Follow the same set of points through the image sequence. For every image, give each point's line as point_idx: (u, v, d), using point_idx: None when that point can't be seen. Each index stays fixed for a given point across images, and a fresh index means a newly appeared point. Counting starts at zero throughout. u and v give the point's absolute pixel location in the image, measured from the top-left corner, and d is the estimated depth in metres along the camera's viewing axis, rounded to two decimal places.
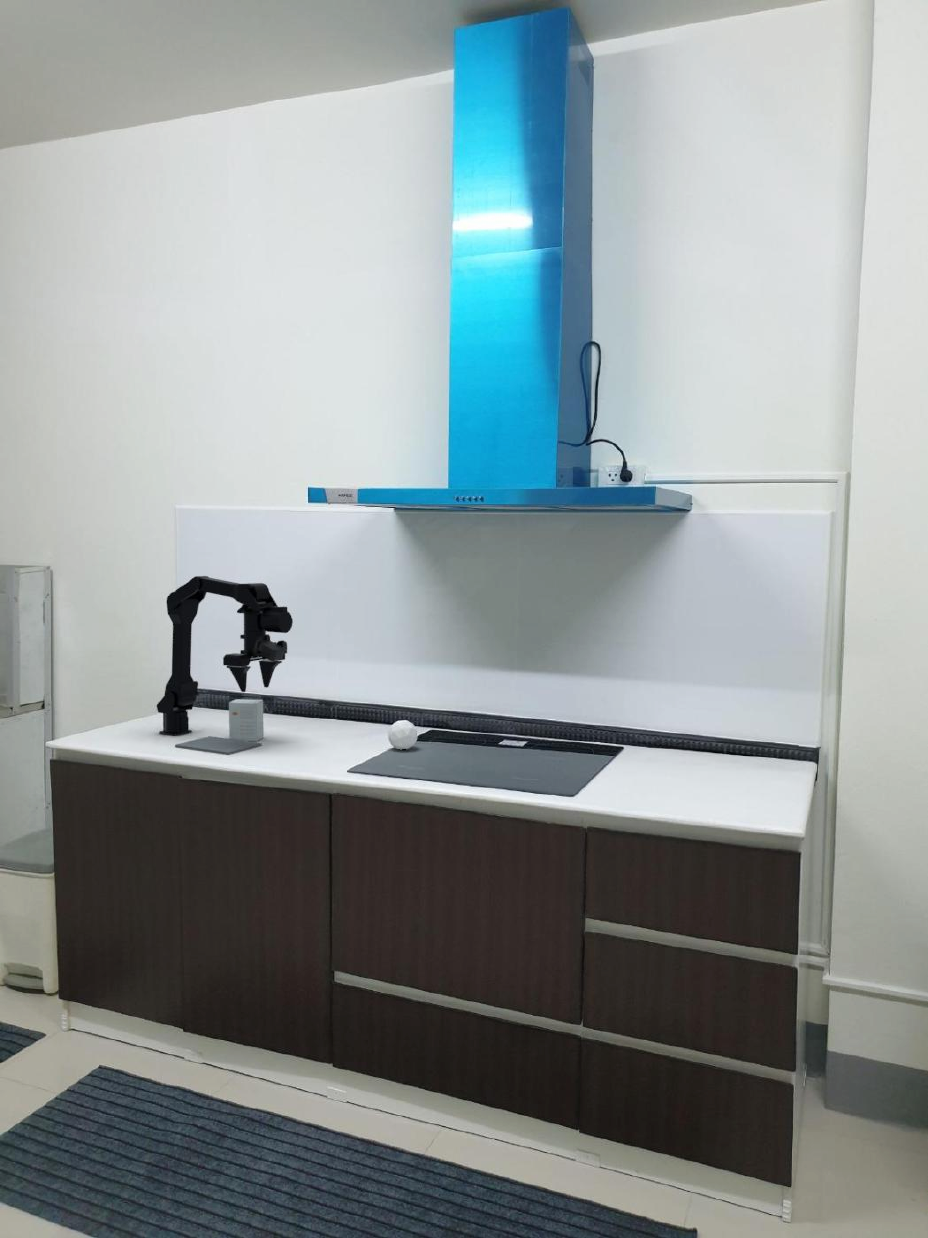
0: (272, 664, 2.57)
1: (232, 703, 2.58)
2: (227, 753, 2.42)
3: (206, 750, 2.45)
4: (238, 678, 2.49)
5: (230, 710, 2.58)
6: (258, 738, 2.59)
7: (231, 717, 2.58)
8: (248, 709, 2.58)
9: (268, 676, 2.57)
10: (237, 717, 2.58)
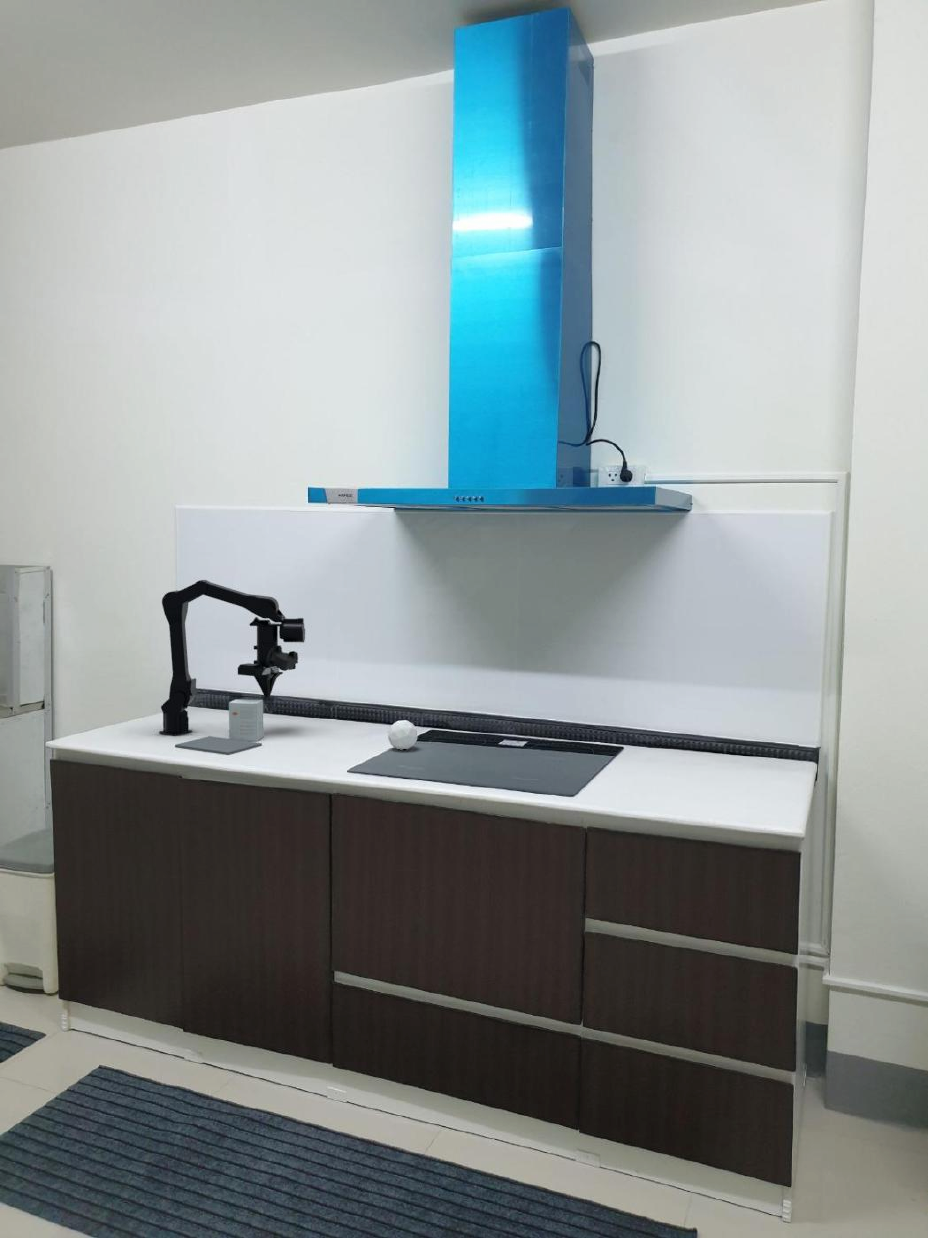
0: (273, 675, 2.68)
1: (232, 703, 2.58)
2: (227, 753, 2.42)
3: (206, 750, 2.45)
4: (262, 685, 2.67)
5: (230, 710, 2.58)
6: (258, 738, 2.59)
7: (231, 717, 2.58)
8: (248, 709, 2.58)
9: None
10: (237, 717, 2.58)
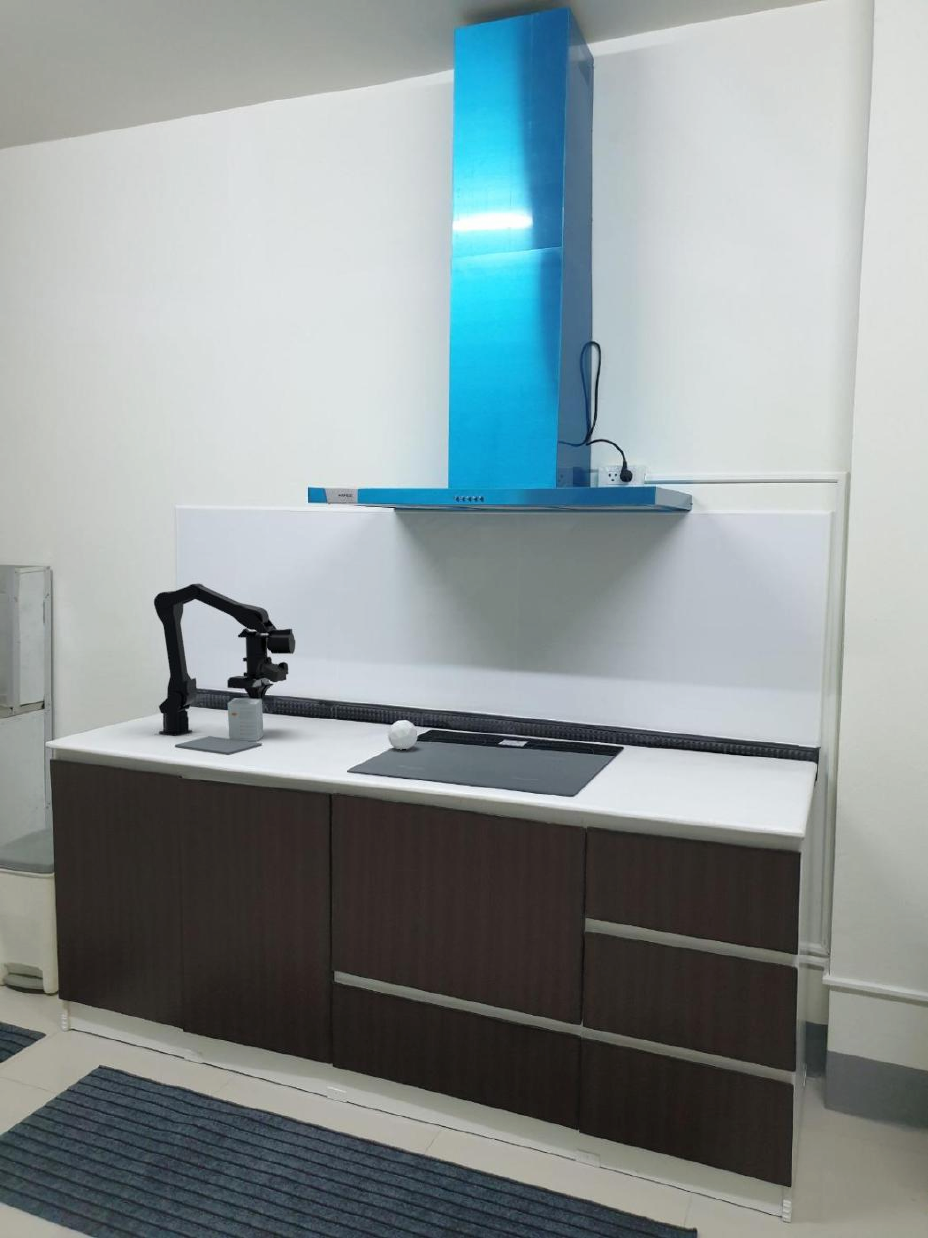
0: (264, 687, 2.64)
1: (231, 704, 2.57)
2: (227, 753, 2.42)
3: (206, 750, 2.45)
4: (253, 697, 2.63)
5: (229, 711, 2.57)
6: (258, 738, 2.59)
7: (230, 717, 2.58)
8: (247, 710, 2.57)
9: None
10: (236, 718, 2.57)
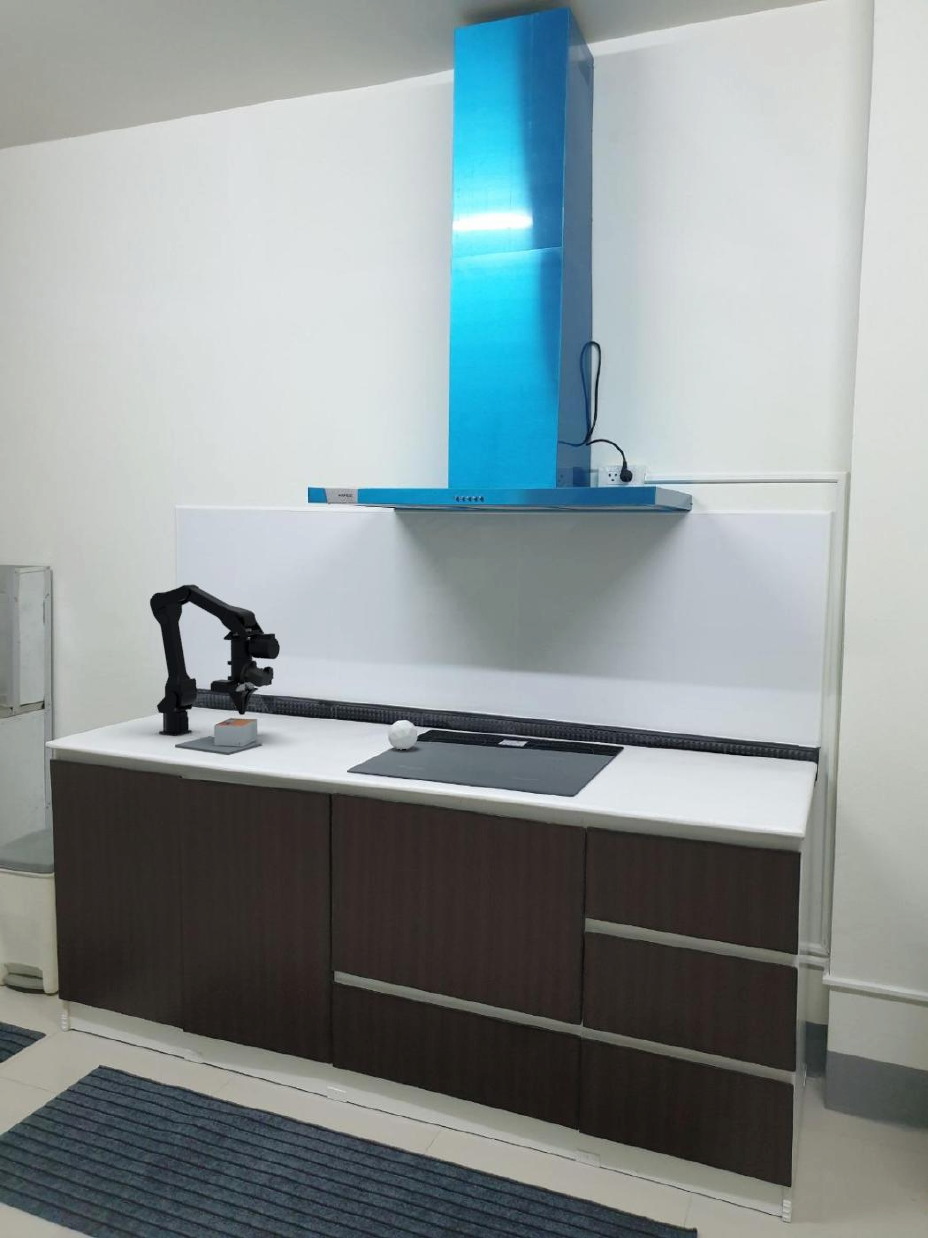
0: (248, 691, 2.58)
1: (218, 745, 2.49)
2: (227, 753, 2.42)
3: (206, 750, 2.45)
4: (236, 701, 2.58)
5: None
6: (256, 736, 2.57)
7: None
8: None
9: None
10: None
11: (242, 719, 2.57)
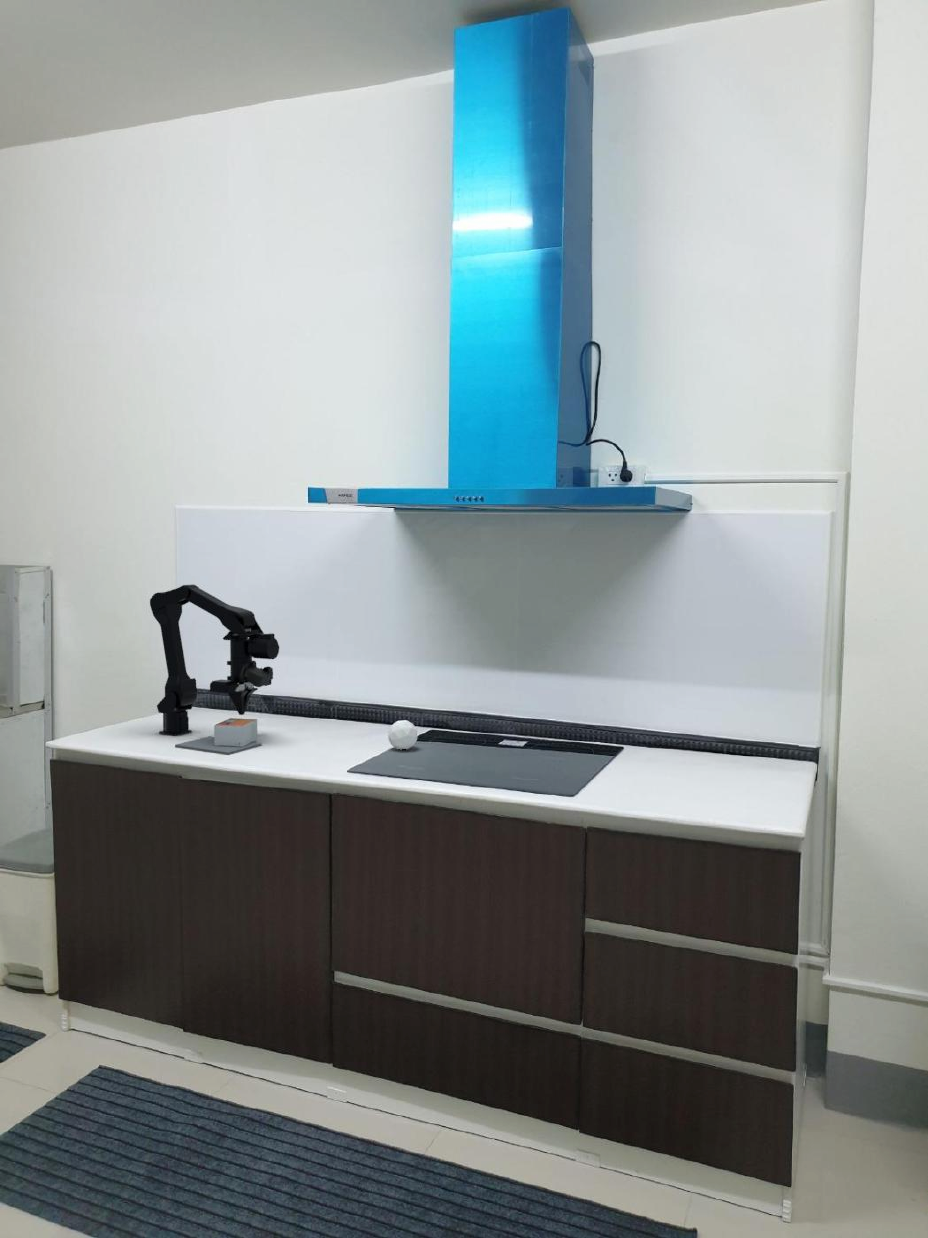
0: (248, 691, 2.58)
1: (218, 745, 2.49)
2: (227, 753, 2.42)
3: (206, 750, 2.45)
4: (236, 701, 2.58)
5: None
6: (256, 736, 2.57)
7: None
8: None
9: (244, 703, 2.58)
10: None
11: (242, 719, 2.57)
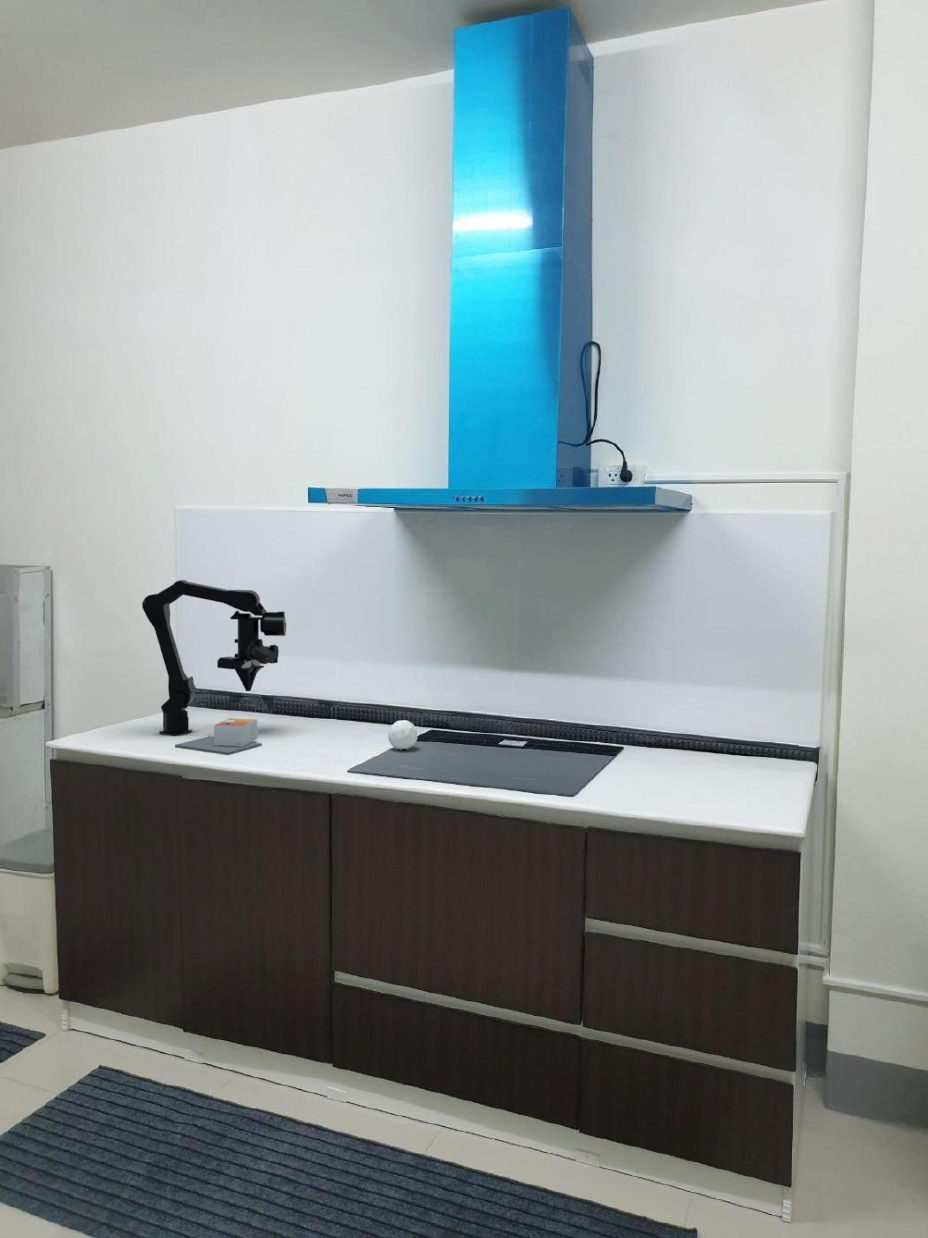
0: (254, 669, 2.67)
1: (218, 745, 2.49)
2: (227, 753, 2.42)
3: (206, 750, 2.45)
4: (243, 678, 2.67)
5: None
6: (256, 736, 2.57)
7: None
8: None
9: None
10: None
11: (242, 719, 2.57)
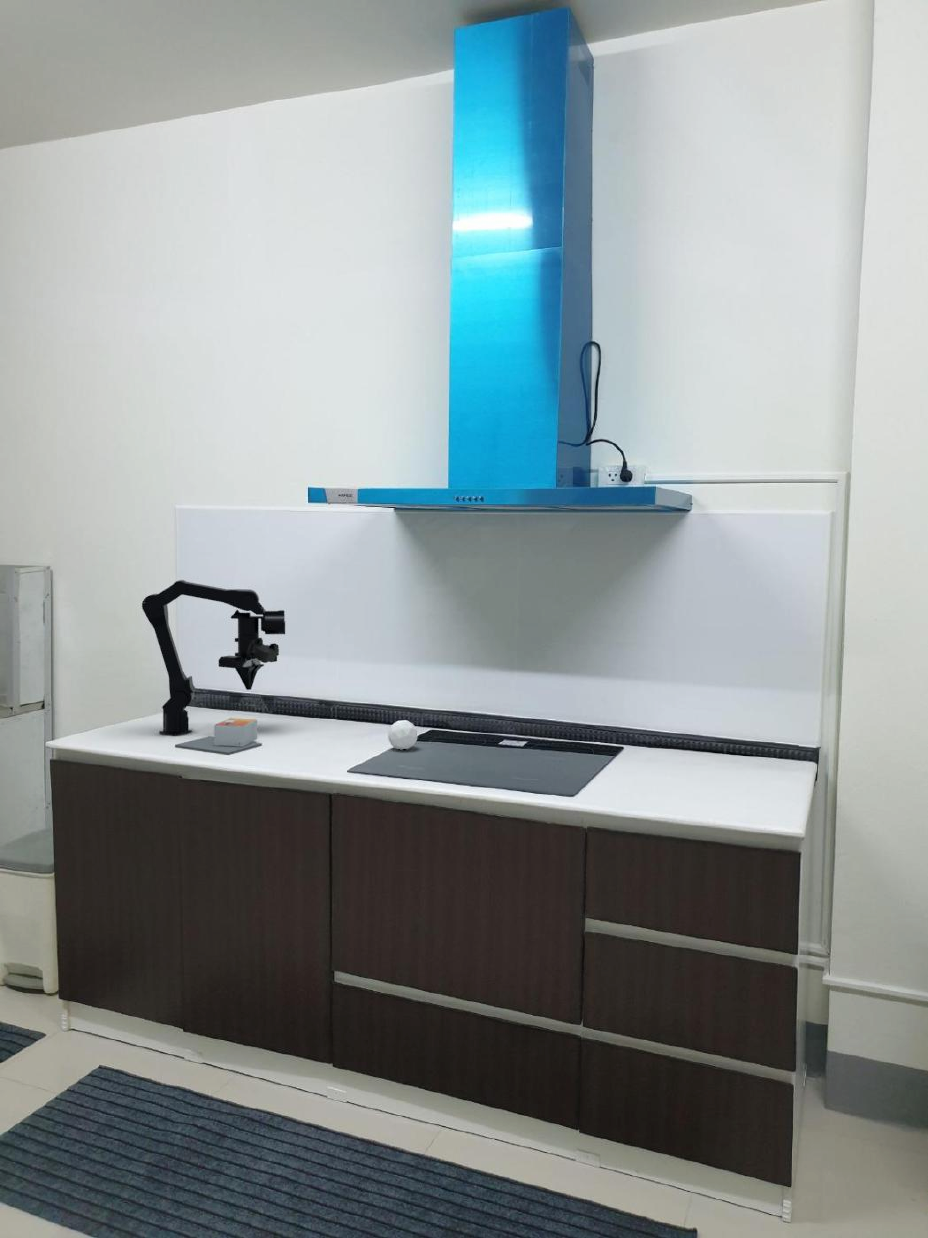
0: (254, 667, 2.69)
1: (218, 745, 2.49)
2: (227, 753, 2.42)
3: (206, 750, 2.45)
4: (243, 677, 2.69)
5: None
6: (256, 736, 2.57)
7: None
8: None
9: (251, 679, 2.70)
10: None
11: (242, 719, 2.57)
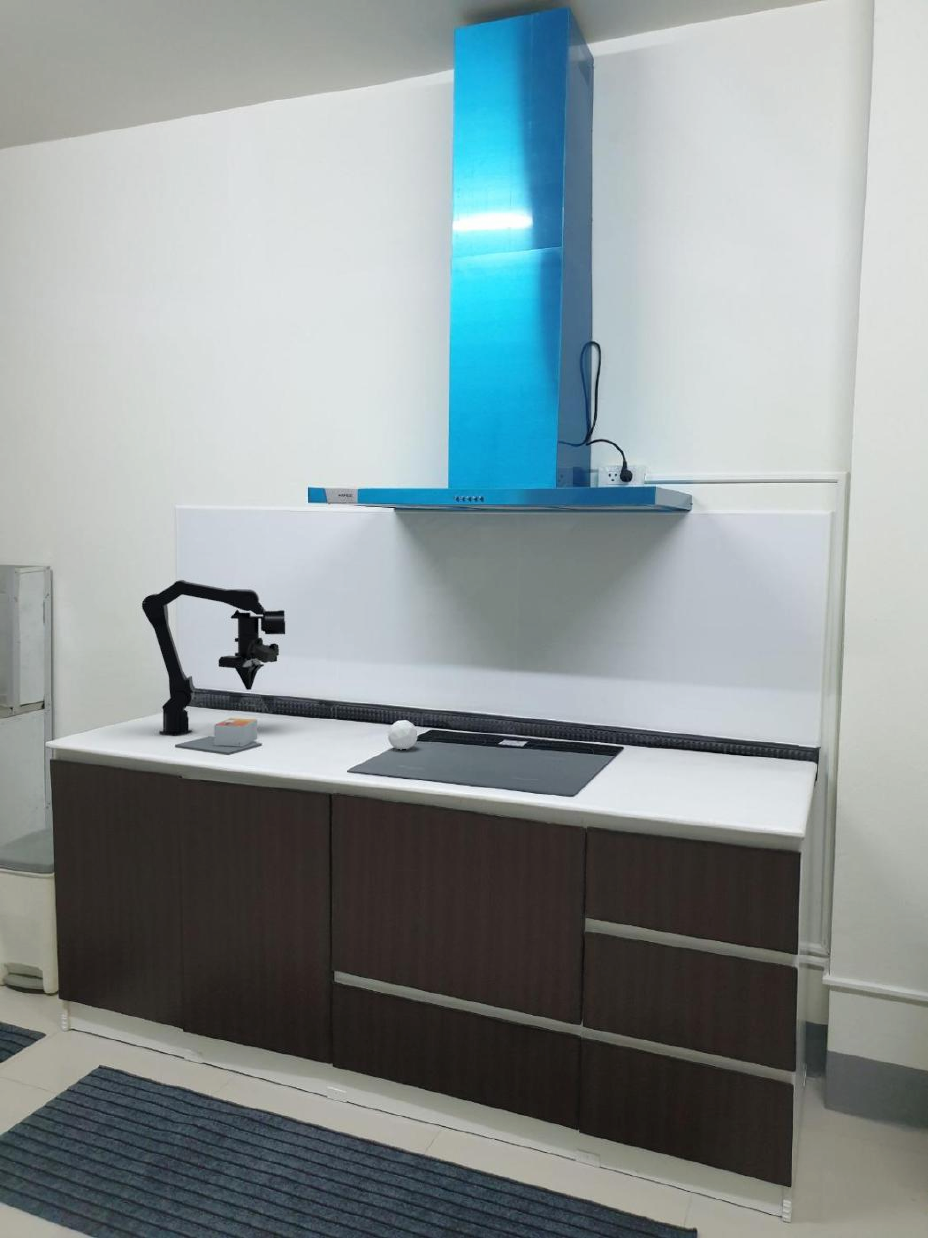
0: (254, 667, 2.69)
1: (218, 745, 2.49)
2: (227, 753, 2.42)
3: (206, 750, 2.45)
4: (243, 677, 2.69)
5: None
6: (256, 736, 2.57)
7: None
8: None
9: (251, 679, 2.70)
10: None
11: (242, 719, 2.57)
